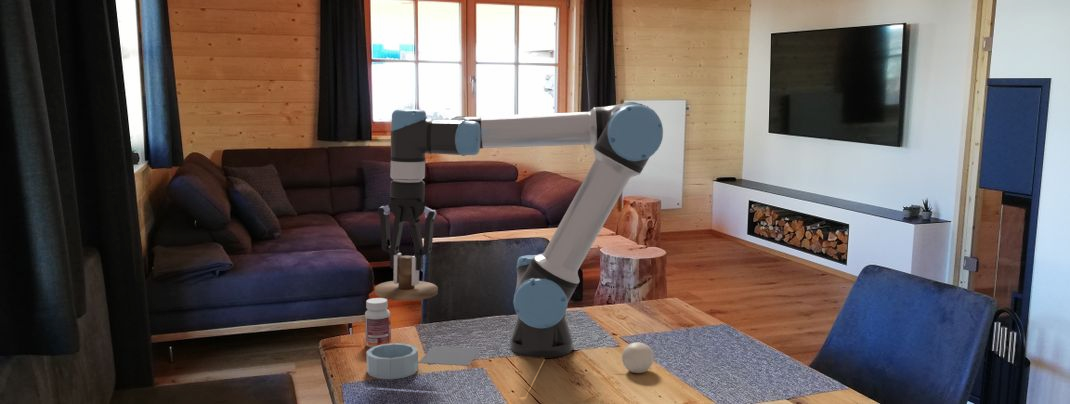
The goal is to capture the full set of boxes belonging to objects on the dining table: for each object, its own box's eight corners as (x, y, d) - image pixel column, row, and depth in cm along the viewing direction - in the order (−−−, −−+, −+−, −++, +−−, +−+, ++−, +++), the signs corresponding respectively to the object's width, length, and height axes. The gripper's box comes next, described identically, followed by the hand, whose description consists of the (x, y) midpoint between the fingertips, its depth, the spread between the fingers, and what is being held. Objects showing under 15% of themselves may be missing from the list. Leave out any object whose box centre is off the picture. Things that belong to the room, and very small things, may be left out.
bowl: (423, 365, 196) (423, 344, 195) (408, 382, 185) (408, 360, 184) (378, 362, 198) (377, 342, 197) (360, 379, 187) (359, 357, 186)
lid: (445, 287, 198) (446, 253, 197) (425, 302, 184) (426, 266, 183) (389, 282, 201) (389, 248, 200) (364, 297, 187) (364, 261, 186)
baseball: (659, 370, 193) (660, 342, 192) (641, 379, 187) (642, 350, 186) (634, 364, 197) (635, 336, 196) (616, 372, 191) (616, 343, 190)
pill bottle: (395, 346, 210) (394, 301, 208) (371, 350, 207) (370, 305, 205) (385, 339, 215) (383, 295, 213) (361, 344, 212) (360, 299, 210)
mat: (481, 350, 206) (481, 348, 206) (469, 367, 195) (469, 365, 195) (433, 348, 208) (433, 346, 208) (418, 364, 197) (418, 362, 197)
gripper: (449, 180, 191) (446, 282, 194) (378, 175, 194) (378, 276, 198) (438, 184, 183) (436, 290, 187) (365, 179, 187) (364, 284, 190)
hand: (406, 283), depth 192 cm, fingers closed on lid, 3 cm apart
